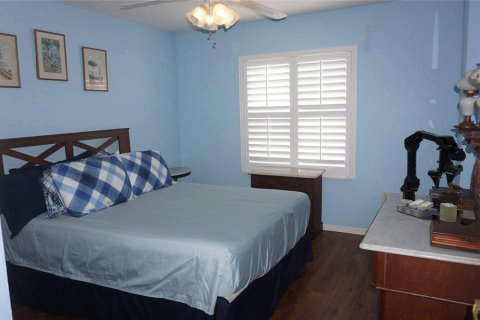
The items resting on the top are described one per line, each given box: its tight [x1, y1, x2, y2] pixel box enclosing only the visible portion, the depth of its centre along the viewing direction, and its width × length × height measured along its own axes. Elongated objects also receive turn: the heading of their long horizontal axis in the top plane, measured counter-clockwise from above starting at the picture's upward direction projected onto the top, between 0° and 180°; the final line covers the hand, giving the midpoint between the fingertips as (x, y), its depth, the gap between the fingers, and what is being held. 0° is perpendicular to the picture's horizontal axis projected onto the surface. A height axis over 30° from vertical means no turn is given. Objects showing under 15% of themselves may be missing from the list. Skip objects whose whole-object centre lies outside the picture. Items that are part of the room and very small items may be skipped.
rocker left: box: [400, 198, 416, 204], centre depth 201 cm, size 4×8×2 cm, turn 112°
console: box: [396, 203, 438, 219], centre depth 196 cm, size 16×12×4 cm
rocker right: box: [417, 201, 434, 211], centre depth 191 cm, size 4×8×2 cm, turn 112°
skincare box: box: [439, 203, 458, 222], centre depth 167 cm, size 6×4×12 cm
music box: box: [431, 182, 468, 218], centre depth 179 cm, size 15×11×20 cm
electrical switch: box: [430, 193, 447, 212], centre depth 200 cm, size 9×5×9 cm, turn 57°
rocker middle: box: [409, 198, 426, 209], centre depth 196 cm, size 4×8×2 cm, turn 112°
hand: (443, 187), depth 194 cm, fingers open, 9 cm apart
